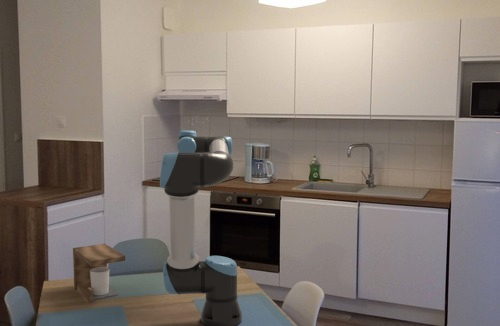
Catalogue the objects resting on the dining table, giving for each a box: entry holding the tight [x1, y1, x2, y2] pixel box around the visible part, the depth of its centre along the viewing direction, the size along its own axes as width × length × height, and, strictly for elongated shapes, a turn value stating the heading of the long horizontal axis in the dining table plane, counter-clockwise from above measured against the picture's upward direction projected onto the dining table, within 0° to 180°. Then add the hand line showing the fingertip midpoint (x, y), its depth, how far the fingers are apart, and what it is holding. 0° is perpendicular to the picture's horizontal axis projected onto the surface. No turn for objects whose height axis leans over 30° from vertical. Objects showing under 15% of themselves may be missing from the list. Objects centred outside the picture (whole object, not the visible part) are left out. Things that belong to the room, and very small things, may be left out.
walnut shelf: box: [72, 243, 126, 304], centre depth 232 cm, size 14×24×18 cm, turn 34°
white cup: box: [90, 266, 110, 295], centre depth 232 cm, size 8×8×10 cm
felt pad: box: [89, 287, 119, 301], centre depth 232 cm, size 11×11×1 cm
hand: (188, 216), depth 238 cm, fingers open, 13 cm apart
